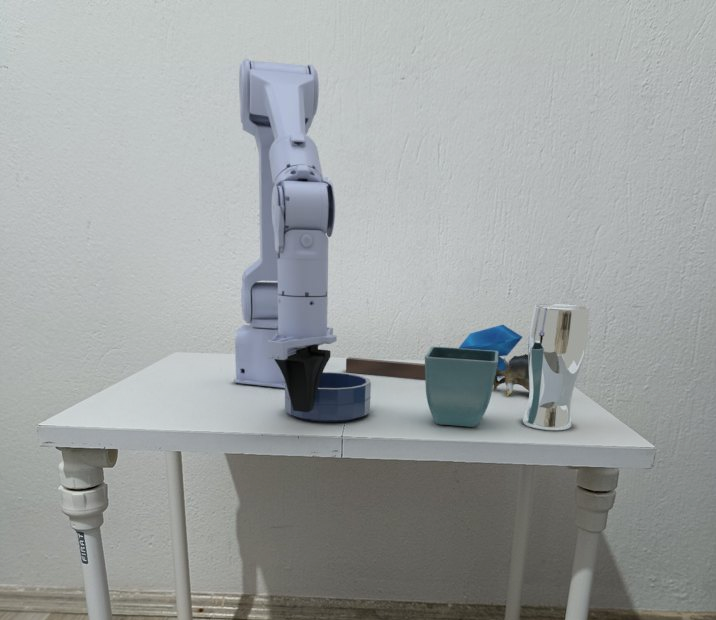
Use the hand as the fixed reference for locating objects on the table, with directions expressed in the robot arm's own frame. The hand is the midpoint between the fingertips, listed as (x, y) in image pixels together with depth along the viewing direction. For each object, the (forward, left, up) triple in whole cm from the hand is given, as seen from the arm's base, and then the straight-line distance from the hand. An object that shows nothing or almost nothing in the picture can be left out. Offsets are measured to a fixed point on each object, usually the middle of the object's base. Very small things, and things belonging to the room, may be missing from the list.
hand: (302, 410), depth 81 cm
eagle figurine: (+22, +32, -2) cm, 39 cm away
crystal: (+15, +47, -2) cm, 49 cm away
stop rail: (0, +38, -2) cm, 38 cm away
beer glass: (+28, +15, -2) cm, 32 cm away
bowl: (0, +8, -2) cm, 8 cm away
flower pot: (+17, +11, -2) cm, 20 cm away
